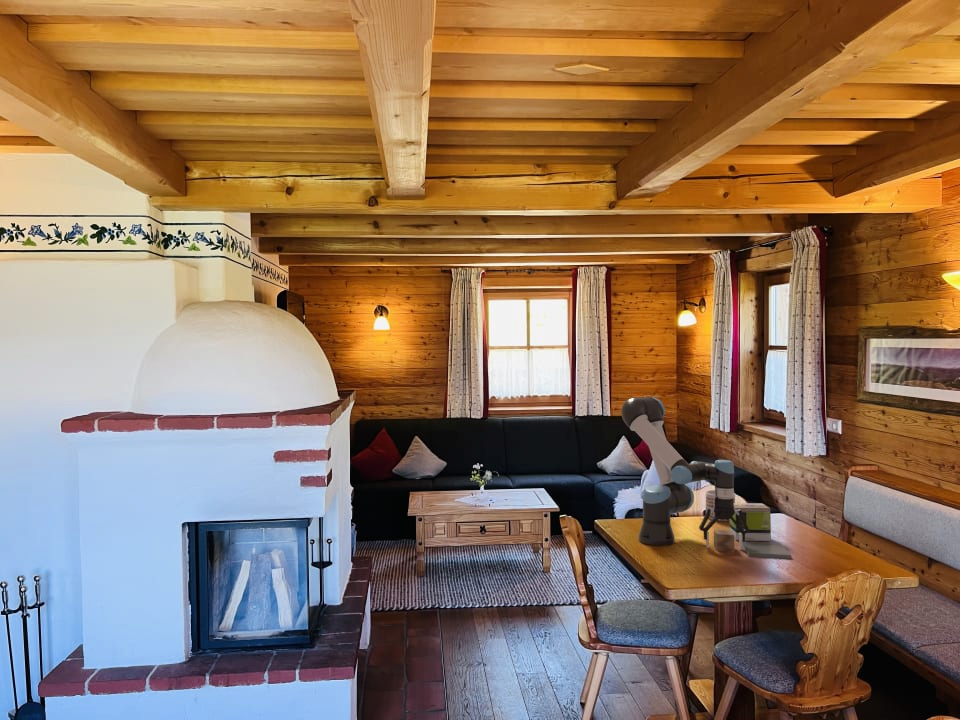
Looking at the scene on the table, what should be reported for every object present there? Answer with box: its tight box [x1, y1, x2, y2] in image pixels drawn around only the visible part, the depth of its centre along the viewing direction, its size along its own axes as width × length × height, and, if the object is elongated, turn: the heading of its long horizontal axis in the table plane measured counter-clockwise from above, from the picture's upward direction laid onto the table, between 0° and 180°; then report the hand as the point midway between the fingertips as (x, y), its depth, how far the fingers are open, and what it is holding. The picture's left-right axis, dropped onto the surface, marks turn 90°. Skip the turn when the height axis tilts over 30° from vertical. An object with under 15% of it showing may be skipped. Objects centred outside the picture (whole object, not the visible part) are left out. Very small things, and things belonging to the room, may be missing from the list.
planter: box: [705, 489, 736, 523], centre depth 324 cm, size 14×14×13 cm
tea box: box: [729, 502, 772, 542], centre depth 289 cm, size 15×10×15 cm
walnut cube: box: [713, 529, 735, 553], centre depth 273 cm, size 7×7×7 cm
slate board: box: [742, 541, 792, 560], centre depth 269 cm, size 16×16×2 cm
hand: (724, 548), depth 273 cm, fingers open, 12 cm apart
